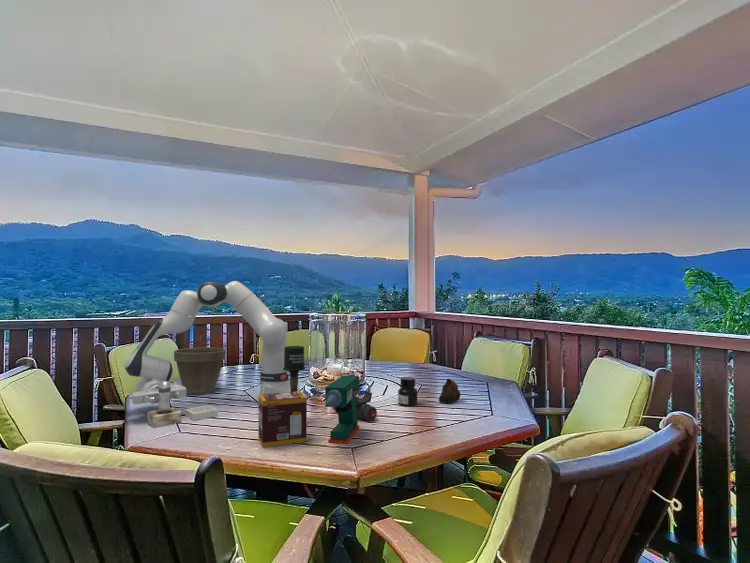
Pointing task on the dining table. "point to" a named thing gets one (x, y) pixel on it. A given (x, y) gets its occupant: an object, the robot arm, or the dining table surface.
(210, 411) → the tray
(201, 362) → the plant pot
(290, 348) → the stick grenade
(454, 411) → the dining table surface
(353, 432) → the power tool
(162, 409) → the collared metal peg
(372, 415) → the laser sight
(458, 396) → the decorative rock
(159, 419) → the socket block
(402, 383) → the ink bottle
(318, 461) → the dining table surface
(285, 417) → the supplement box
